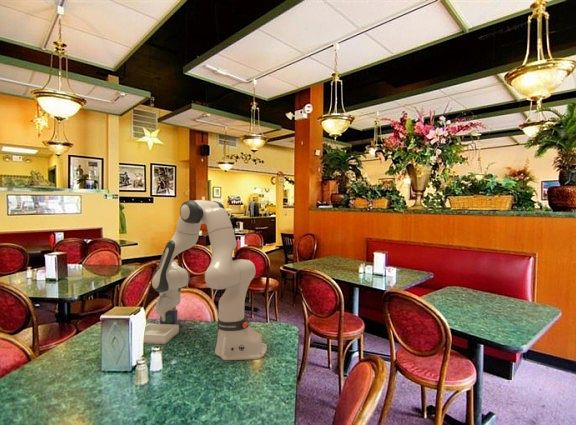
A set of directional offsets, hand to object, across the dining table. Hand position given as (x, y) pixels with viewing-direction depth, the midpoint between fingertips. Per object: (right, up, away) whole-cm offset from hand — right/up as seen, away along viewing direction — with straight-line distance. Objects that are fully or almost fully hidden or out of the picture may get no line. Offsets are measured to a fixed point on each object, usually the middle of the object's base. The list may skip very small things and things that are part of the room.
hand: (168, 317), depth 166 cm
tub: (0, -5, -14) cm, 15 cm away
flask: (0, -5, 0) cm, 5 cm away
